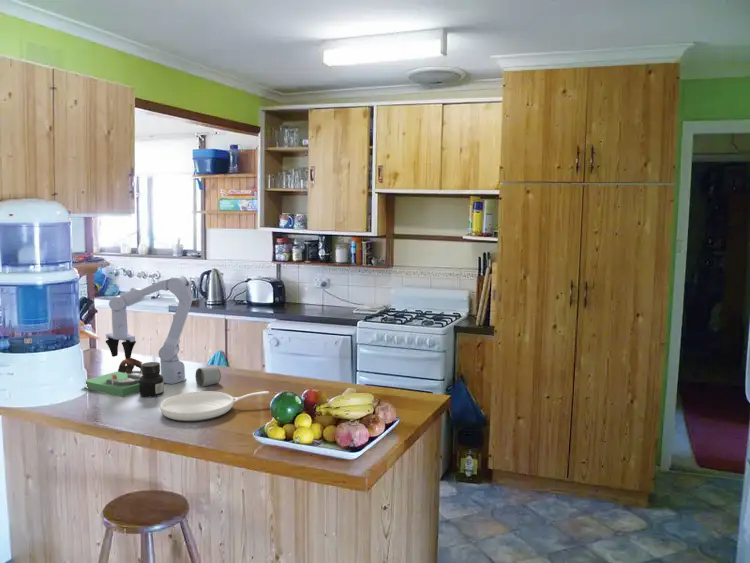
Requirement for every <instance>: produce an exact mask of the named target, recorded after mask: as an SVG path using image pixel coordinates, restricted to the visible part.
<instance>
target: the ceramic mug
mask: <svg viewBox="0 0 750 563" xmlns="http://www.w3.org/2000/svg"><path fill="white" fill-rule="evenodd" d="M221 378H222V373H221V370H220V369H219V368H218V367H217V366H206V367H205V366H204V367H198V368H197V369H196V370H195V382H196V384H197V386H199V387H200V388H203V387H208V386H212V385H216V384H219V383H220V381H221Z"/></svg>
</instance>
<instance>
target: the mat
mask: <svg viewBox="0 0 750 563" xmlns="http://www.w3.org/2000/svg"><path fill="white" fill-rule="evenodd" d="M111 374H113V375H116V376H117V380H115V379H113V382H114V387H112V376H111ZM140 377H142V375H138V374H133V373H131V374H127V373H126V372H125V373H122V372H118V371H114V372H111V373H105V374H103V375H99V376H95V377H91V378H88V379H85V380H86V384H87V387H88V389H87V390H90V391H95V392H99V393H102V394H103V393H104V394H108V395H112V396H117V397H119V398H120V397H121V398H124V397H127V396H131V395H134V394H136V393H140V390H139V379H140ZM126 379H132V380H134V381H131V382H124V380H126ZM133 393H134V394H133ZM130 394H131V395H130Z"/></svg>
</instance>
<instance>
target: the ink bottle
mask: <svg viewBox="0 0 750 563" xmlns="http://www.w3.org/2000/svg"><path fill="white" fill-rule="evenodd" d="M140 370H141V376H142V377H140V379H139V390H140V392H139V396H141V397H142V398H155V397H159V396H162V395H163V394H164V393H165V386H164V385H165V384H164V382H163V376H162V375H161V362H157V361H149V362H143V363H142V364H141V369H140Z"/></svg>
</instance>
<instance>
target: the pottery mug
mask: <svg viewBox="0 0 750 563" xmlns="http://www.w3.org/2000/svg"><path fill="white" fill-rule="evenodd" d="M142 364H143V362H142V361H140V360H137V359H135V358H133V357H131V358H127V359H126V358H125V359H122V361H121V362H120V364H119V366H118V370H117V372H122V373H127V374H133V370H134V368H135V367H136V368H139V369H140V371H139V372H140V373H142V371H141V365H142Z"/></svg>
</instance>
